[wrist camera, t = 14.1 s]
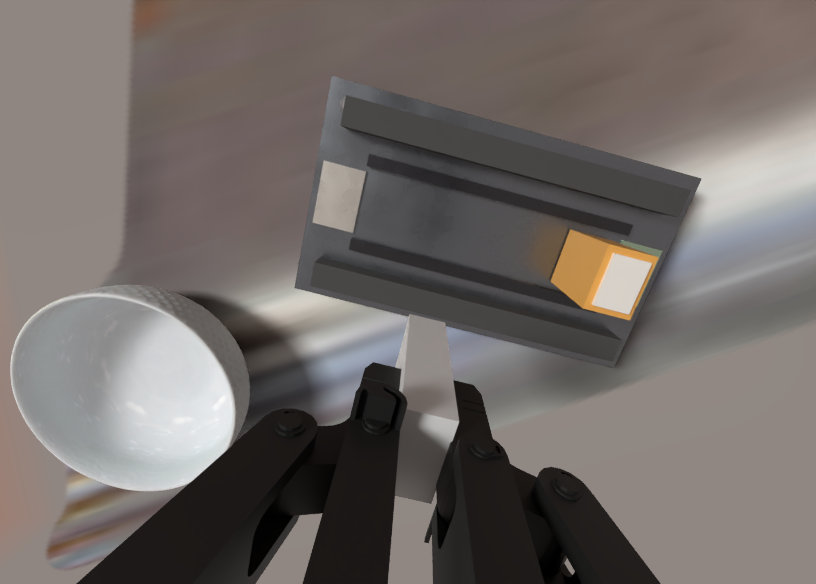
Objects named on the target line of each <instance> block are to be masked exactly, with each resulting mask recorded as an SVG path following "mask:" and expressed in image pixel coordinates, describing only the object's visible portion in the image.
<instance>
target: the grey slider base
mask: <svg viewBox="0 0 816 584" xmlns="http://www.w3.org/2000/svg"><path fill="white" fill-rule="evenodd" d="M346 95H348V96H352V97H355V98H359V99H363V100H366V101H370V102H373V103H377V104H381V105H384V106H388V107H392V108H395V109H399V110H402V111H406V112H410V113H413V114H417V115H421V116H424V117H428V118H431V119H435V120H439V121H442V122H446V123H449V124H453V125H457V126H460V127H464V128H468V129H471V130H475V131H478V132H482V133H486V134H489V135H493V136H497V137H500V138H504V139H507V140H511V141H515V142H518V143H522V144H526V145H529V146H533V147H536V148H540V149H544V150H547V151H551V152H555V153H558V154H562V155H565V156H569V157H573V158H576V159H580V160H584V161H587V162H591V163H594V164H598V165H602V166H605V167H609V168H613V169H616V170H620V171H623V172H627V173H631V174H634V175H638V176H641V177H645V178H649V179H652V180H656V181H660V182H663V183H667V184H670V185H674V186H678V187H681V188H685V189H689V190H691V192H690V194H689V196H688V198H687V201H686V203H685V205H684V207H683V209H682V211H681V214H680V216H679V217H674V216H668V215H663V214H659V213H655V212H651V211H648V210H644V209H640V208H637V207H633V206H629V205H626V204H622V203H618V202H615V201H611V200H607V199H604V198H600V197H596V196H593V195H589V194H585V193H582V192H578V191H574V190H571V189H567V188H563V187H560V186H556V185H552V184H549V183H545V182H541V181H537V180H534V179H530V178H526V177H523V176H519V175H515V174H512V173H508V172H504V171H501V170H497V169H493V168H490V167H486V166H482V165H479V164H475V163H471V162H468V161H464V160H460V159H457V158H453V157H449V156H446V155H442V154H438V153H434V152H431V151H427V150H423V149H420V148H416V147H412V146H409V145H405V144H401V143H398V142H394V141H390V140H387V139H383V138H379V137H376V136H372V135H368V134H365V133H361V132H357V131H354V130H350V129H346V128H344V127H342V126H341V125H340V124H341V119H342V113H343V108H344V103H345V98H346ZM700 181H701V178H697V177H694V176H690V175H686V174H683V173H679V172H676V171H672V170H669V169H665V168H661V167H658V166H654V165H651V164H647V163H643V162H640V161H636V160H633V159H629V158H625V157H622V156H618V155H615V154H611V153H607V152H604V151H600V150H597V149H593V148H589V147H586V146H582V145H579V144H575V143H571V142H568V141H564V140H561V139H557V138H553V137H550V136H546V135H543V134H539V133H535V132H532V131H528V130H525V129H521V128H517V127H514V126H510V125H507V124H503V123H499V122H496V121H492V120H489V119H485V118H481V117H478V116H474V115H471V114H467V113H463V112H460V111H456V110H453V109H449V108H445V107H442V106H438V105H435V104H431V103H427V102H424V101H420V100H417V99H413V98H409V97H406V96H402V95H399V94H395V93H391V92H388V91H384V90H381V89H377V88H373V87H370V86H366V85H363V84H359V83H355V82H352V81H348V80H345V79H341V78H337V77H334V76H332V79H331V85H330V90H329V96H328V102H327V107H326V113H325V119H324V124H323V130H322V136H321V141H320V147H319V153H318V158H317V164H316V169H315V175H314V181H313V186H312V192H311V198H310V203H309V209H308V215H307V220H306V226H305V232H304V237H303V243H302V249H301V254H300V260H299V266H298V271H297V277H296V283H295V288H297V289H301V290H305V291H309V292H313V293H317V294H321V295H325V296H329V297H333V298H337V299H341V300H345V301H349V302H353V303H357V304H361V305H365V306H369V307H373V308H377V309H381V310H385V311H389V312H393V313H397V314H401V315H405V316H409V315H410V314H412V315H416V316H420V317H424V318H429V319H433V320H437V321H441V322H445V326H449V327H453V328H457V329H461V330H465V331H469V332H473V333H477V334H481V335H485V336H489V337H493V338H497V339H501V340H505V341H509V342H513V343H517V344H521V345H525V346H529V347H533V348H537V349H541V350H545V351H549V352H553V353H557V354H561V355H565V356H569V357H573V358H577V359H581V360H585V361H589V362H593V363H597V364H601V365H605V366H609V367H613V368H614V366H615V364H616V362H617V360H618V358H619V356H620V353H621V351H622V349H623V347H624V345H625V343H626V341H627V338H628V336H629V334H630V332H631V330H632V328H633V325H634V323H635V321H636V319H637V317H638V315H639V313H640V310H641V308H642V306H643V304H644V302H645V300H646V297H647V295H648V293H649V291H650V289H651V287H652V285H653V282H654V280H655V278H656V276H657V274H658V272H659V269H660V267H661V265H662V263H663V261H664V259H665V256H666V254H667V252H668V250H669V248H670V246H671V244H672V241H673V239H674V237H675V235H676V233H677V231H678V228H679V226H680V224H681V222H682V220H683V218H684V216H685V213H686V211H687V209H688V207H689V205H690V203H691V200H692V198H693V196H694V194H695V192H696V190H697V187H698V185H699V183H700ZM570 229H571V230H575V231H579V232H582V233H586V234H590V235H594V236H597V237H601V238H605V239H609V240H612V241H614V242H617V243H620V244H623V245H626V246H628V247H631V248H634V249H637V250H640V251H642V252H645V253H648V254H651V255H654V256H656V257H659V258H658V260H657V262H656V265H655V267H654V269H653V271H652V273H651V275H650V278H649V280H648V282H647V284H646V286H645V289H644V291H643V293H642V295H641V297H640V299H639V302H638V304H637V306H636V308H635V310H634V313H633V315H632V317H631V319H630V320H626V319H622V318H618V317H614V316H610V315H607V314H603V313H599V312H595V311H591V310H587V309H583V308H582V307H580V306H579V305H578V304H577V303H576V302H574V301H573V300H572V299H571V298H570V297H568V296H567V295H566V294H565V293H564V292H562V291H561V290H560V289H559V288H558V287H556V286H555V285H554V284H553V283H552V282H551V279H552V276H553V273H554V271H555V268H556V265H557V263H558V260H559V258H560V255H561V252H562V250H563V247H564V244H565V242H566V239H567V237H568V234H569V231H570ZM320 257H323V258H327V259H331V260H335V261H339V262H343V263H347V264H351V265H354V266H358V267H362V268H366V269H370V270H374V271H378V272H382V273H386V274H390V275H394V276H398V277H401V278H405V279H409V280H413V281H417V282H421V283H425V284H429V285H433V286H437V287H441V288H445V289H448V290H452V291H456V292H460V293H464V294H468V295H472V296H476V297H480V298H484V299H488V300H492V301H496V302H499V303H503V304H507V305H511V306H515V307H519V308H523V309H527V310H531V311H535V312H539V313H543V314H546V315H550V316H554V317H558V318H562V319H566V320H570V321H574V322H578V323H582V324H586V325H590V326H594V327H597V328H601V329H605V330H609V331H611V332H613V333H614V334H615V335H616V336H617V337H619V338H620V339H621V340H622V342H621V344H620V346H619V348H618V351H617V353H616V355H615V357H614V359H613V361H612V362H611V361H607V360H603V359H599V358H595V357H591V356H587V355H583V354H579V353H575V352H571V351H567V350H563V349H559V348H555V347H551V346H547V345H543V344H539V343H535V342H531V341H527V340H523V339H519V338H515V337H511V336H507V335H503V334H499V333H495V332H491V331H487V330H483V329H479V328H475V327H472V326H468V325H464V324H460V323H456V322H452V321H448V320H444V319H440V318H436V317H432V316H428V315H424V314H420V313H416V312H412V311H408V310H404V309H400V308H396V307H392V306H388V305H384V304H380V303H376V302H372V301H368V300H364V299H360V298H356V297H352V296H348V295H344V294H340V293H336V292H332V291H328V290H324V289H320V288H316V287H312V286H310V283H311V278H312V272H313V267H314V262H315V261H316V260H318V259H319V258H320Z"/></svg>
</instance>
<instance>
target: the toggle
mask: <svg viewBox="0 0 816 584" xmlns="http://www.w3.org/2000/svg"><path fill="white" fill-rule="evenodd" d="M658 258H659V257H656V256H654V255H651V254H648V253H645V252H642V251H640V250H637V249H634V248H631V247H628V246H626V245H623V244H620V243H617V242H614V241H612V240H609V239H605V238H601V237H597V236H594V235H590V234H586V233H582V232H579V231H575V230H571V229H570V231H569V234H568V237H567V239H566V242H565V244H564V247H563V250H562V252H561V255H560V258H559V260H558V263H557V265H556V268H555V271H554V273H553V276H552V279H551V282H552V283H553V284H554V285H555V286H556V287H558V288H559V289H560V290H561V291H562V292H564V293H565V294H566V295H567V296H568V297H570V298H571V299H572V300H573V301H574V302H576V303H577V304H578V305H579V306H580V307H582V308H583V309H587V310H591V311H595V312H599V313H603V314H607V315H610V316H614V317H618V318H622V319H626V320H630V319H631V317H632V315H633V313H634V310H635V308H636V306H637V304H638V302H639V299H640V297H641V295H642V293H643V291H644V289H645V286H646V284H647V282H648V280H649V278H650V275H651V273H652V271H653V269H654V267H655V265H656V262H657V260H658Z"/></svg>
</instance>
